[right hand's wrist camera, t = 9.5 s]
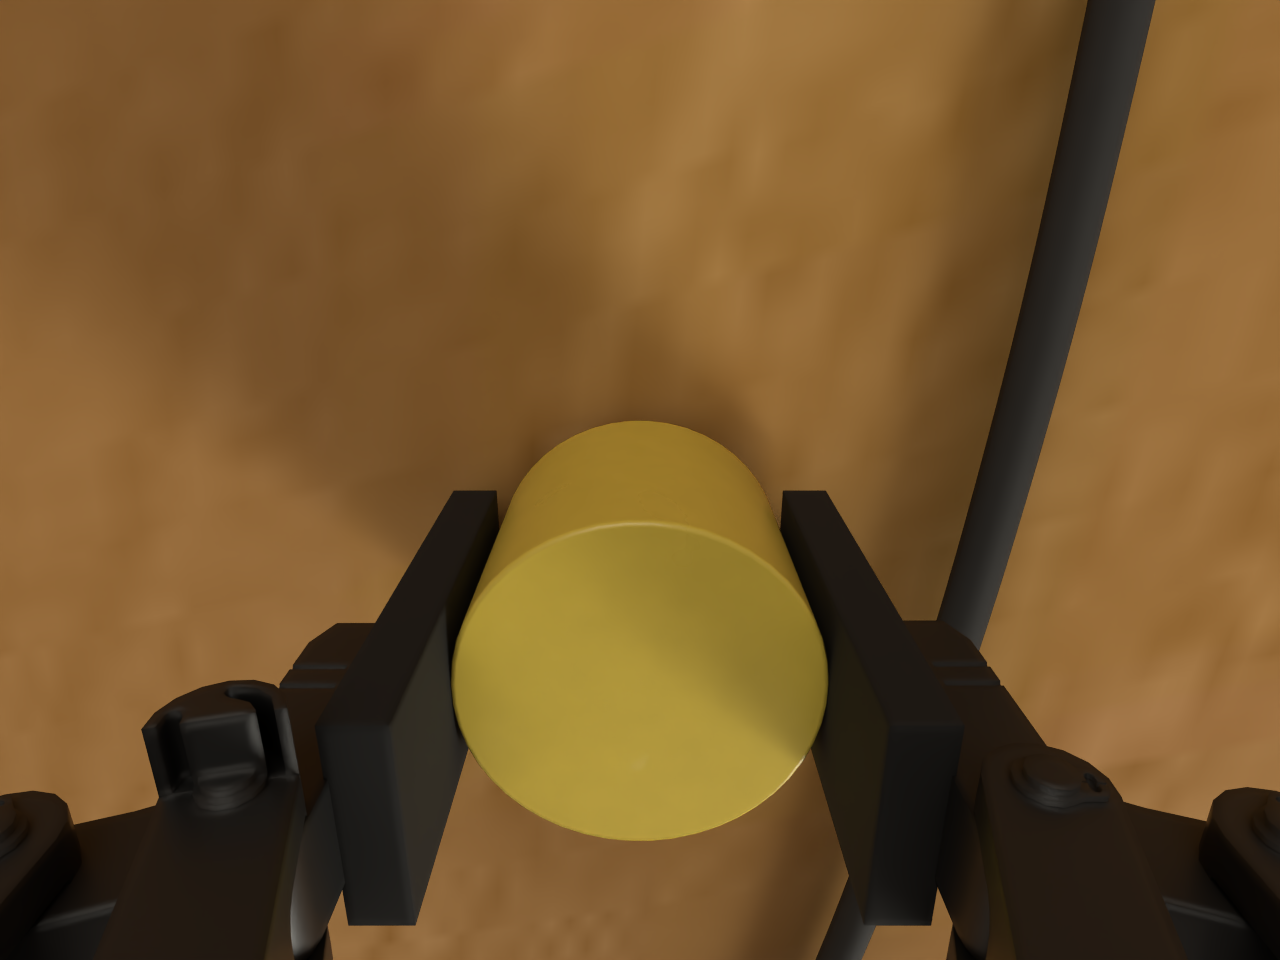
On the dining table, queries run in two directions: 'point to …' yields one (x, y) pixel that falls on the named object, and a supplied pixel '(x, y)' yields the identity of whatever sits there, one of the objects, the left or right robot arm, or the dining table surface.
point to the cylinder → (639, 640)
